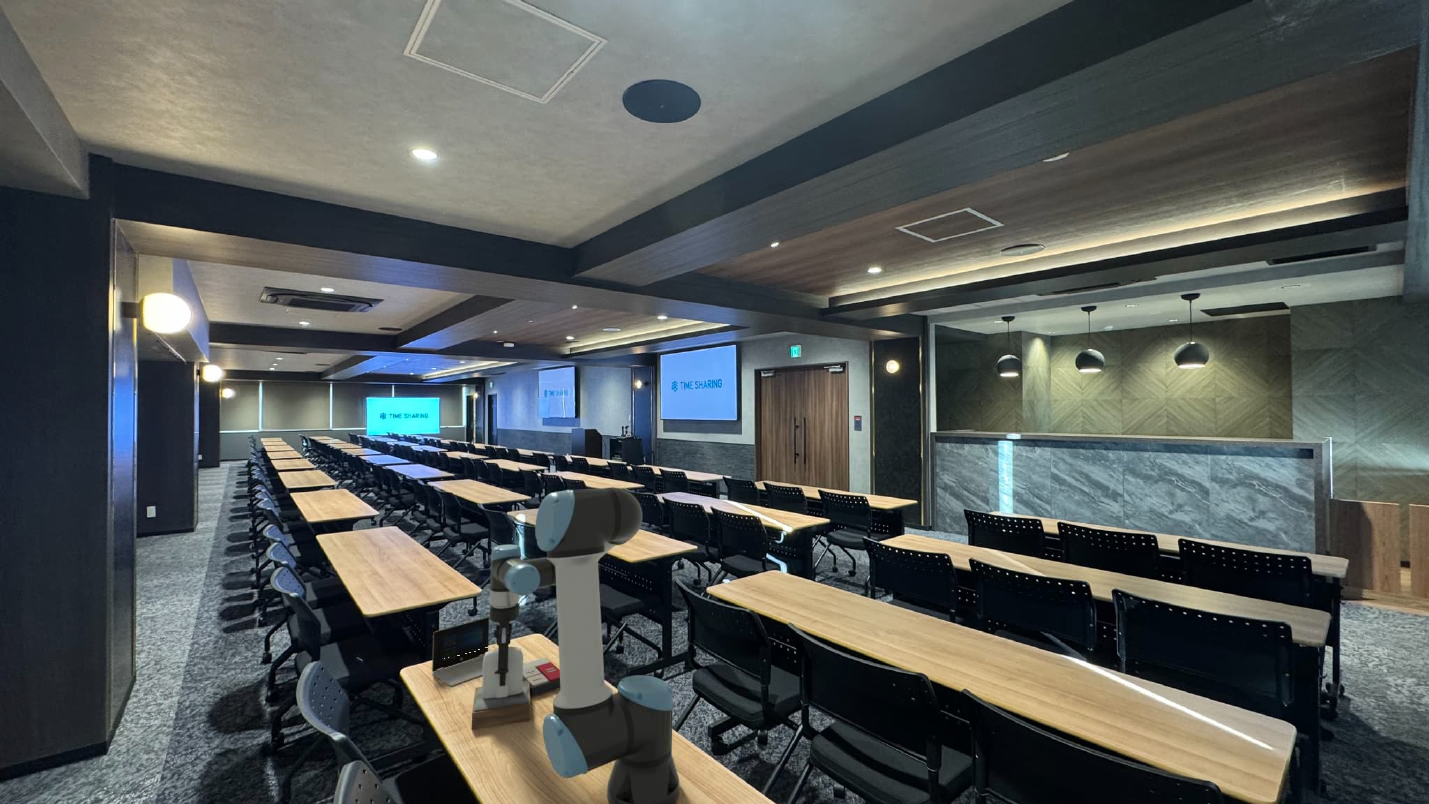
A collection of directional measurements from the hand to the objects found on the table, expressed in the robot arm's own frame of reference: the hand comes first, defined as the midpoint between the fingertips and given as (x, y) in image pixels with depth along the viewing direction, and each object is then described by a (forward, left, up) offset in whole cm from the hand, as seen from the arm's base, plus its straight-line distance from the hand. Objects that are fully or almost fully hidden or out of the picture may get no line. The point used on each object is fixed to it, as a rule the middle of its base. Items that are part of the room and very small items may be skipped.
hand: (502, 690), depth 151 cm
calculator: (+14, -10, -6) cm, 18 cm away
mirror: (0, 0, -6) cm, 6 cm away
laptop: (+28, +10, -6) cm, 31 cm away
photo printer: (0, 0, -1) cm, 1 cm away
